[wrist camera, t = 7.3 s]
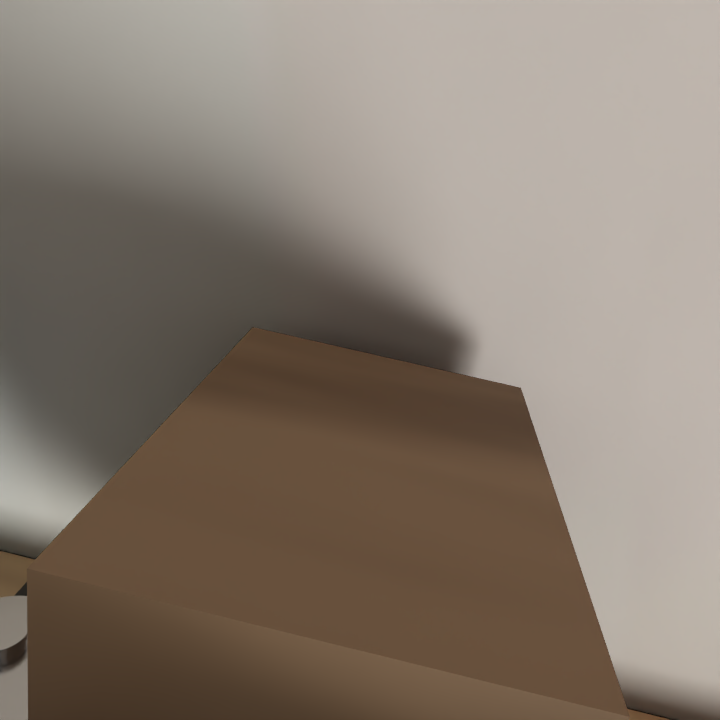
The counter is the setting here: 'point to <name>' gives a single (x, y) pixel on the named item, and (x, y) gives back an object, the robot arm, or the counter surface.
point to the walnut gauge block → (322, 558)
